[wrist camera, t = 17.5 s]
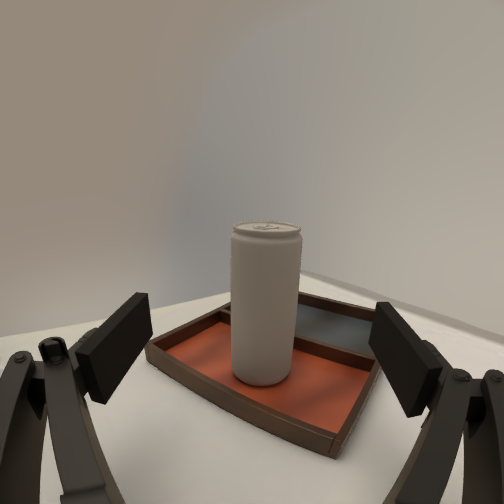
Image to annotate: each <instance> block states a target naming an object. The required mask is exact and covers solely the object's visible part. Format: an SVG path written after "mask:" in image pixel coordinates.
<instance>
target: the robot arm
mask: <svg viewBox="0 0 504 504" xmlns="http://www.w3.org/2000/svg"><path fill="white" fill-rule="evenodd" d="M152 335H153V331H152V324H151V316H150V308H149V300H148V293H137V292H136V293H135V294H134V295H133V296H132V297H131V298H129V299H128V300H127V301H126V302H125V303H124V304H123V305H122V306H121V307H120V308H119V309H118V310H117V311H116V312H115V313H114V314H113V315H111V316H110V317H109V318H108V319H107V320H106V321H105V322H104V323H103V324H102V325H101V326H100V327H99V328H94V329H92V330H90V331H88V332H87V333H85V334H84V335H83V336H82V338H80V339H79V340H78V342H76V343H75V344H74V345H73V346H72V347H71V348H70V349H69V350H67V347H66V344H65V341H64V339H62V338H61V337H50V338H46V339H44V340H43V341H41V342H40V343H39V346H38V348H39V351H40V354H41V356H42V359H43V362H42V361H34V360H33V357H32V355H31V353H30V352H28V351H19V352H16V353H15V354H13V355H12V356H11V357H10V358H9V361H8V363H7V365H6V367H5V369H4V371H3V373H2V375H1V378H0V504H40V474H41V461H42V451H43V443H44V435H45V428H46V422H47V416H48V420H49V427H50V434H51V440H52V445H53V450H54V455H55V460H56V464H57V468H58V473H59V476H60V480H61V484H62V487H63V492H64V494H63V495H60V502H61V504H126V503H125V501H124V499H123V497H122V495H121V493H120V491H119V489H118V487H117V485H116V483H115V481H114V478H113V476H112V474H111V471H110V469H109V467H108V464H107V462H106V459H105V457H104V454H103V452H102V449H101V446H100V444H99V441H98V438H97V435H96V432H95V429H94V426H93V423H92V420H91V417H90V413H89V410H88V406H87V403H86V400H85V398H84V396H85V395H86V393H87V392H88V393H89V395H90V398H91V400H92V401H94V402H97V403H101V404H104V405H106V403H107V402H108V400H109V399H110V397H111V396H112V394H113V393H114V391H115V390H116V388H117V387H118V385H119V384H120V382H121V381H122V379H123V378H124V376H125V375H126V373H127V372H128V370H129V369H130V367H131V366H132V364H133V363H134V361H135V360H136V358H137V357H138V355H139V354H140V353H141V351H142V350H143V348H144V347H145V345H146V344H147V342H148V341H149V340H150V338H151V337H152ZM368 344H369V346H370V347H371V349H372V351H373V353H374V355H375V357H376V358H377V360H378V362H379V364H380V366H381V368H382V370H383V371H384V373H385V375H386V377H387V379H388V381H389V383H390V385H391V387H392V389H393V390H394V392H395V394H396V396H397V398H398V400H399V402H400V404H401V406H402V408H403V410H404V412H405V414H406V416H407V418H410V417H415V416H419V415H422V413H423V411H424V409H425V407H426V405H427V407H428V409H429V410H430V411H429V413H428V415H427V417H426V419H425V421H424V422H423V424H422V426H421V428H422V429H421V432H420V434H419V436H418V438H417V441H416V443H415V445H414V447H413V449H412V451H411V453H410V455H409V457H408V459H407V461H406V463H405V465H404V467H403V469H402V471H401V473H400V475H399V477H398V478H397V480H396V482H395V484H394V485H393V487H392V489H391V490H390V492H389V494H388V495H387V497H386V499H385V500H384V502H383V503H382V504H439V503H440V500H441V498H442V495H443V493H444V490H445V488H446V485H447V482H448V480H449V477H450V474H451V471H452V468H453V465H454V462H455V459H456V455H457V452H458V448H459V445H460V441H461V437H462V433H463V436H464V479H463V495H462V504H504V374H503V373H502V372H501V371H499V370H494V369H493V370H488V371H487V372H486V373H485V375H484V377H483V379H472V376H471V375H470V374H469V373H468V372H467V371H465V370H462V369H457V368H456V369H453V368H452V366H451V365H450V364H449V363H448V362H447V360H446V359H445V358H444V357H443V356H442V354H441V353H440V352H439V351H438V350H437V349H436V347H435V346H434V345H433V344H431V343H430V342H428V341H426V340H421V339H420V338H419V336H418V335H417V334H416V333H415V332H414V330H413V329H412V328H411V327H410V326H409V325H408V324H407V322H406V321H405V320H404V319H403V318H402V317H401V316H400V314H399V313H398V312H397V311H396V310H395V309H394V308H393V307H392V305H391V304H390V303H389V302H377V303H376V308H375V313H374V318H373V323H372V328H371V332H370V337H369V341H368Z"/></svg>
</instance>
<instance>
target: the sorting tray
mask: <svg viewBox="0 0 504 504" xmlns="http://www.w3.org/2000/svg"><path fill="white" fill-rule="evenodd" d="M374 313H375V309H371V308H366V307H362V306H358V305H353V304H349V303H345V302H341V301H336V300H332V299H328V298H324V297H320V296H316V295H312V294H307V293H303V292H299V291H298V303H297V313H296V324H295V333H294V343H293V352H292V360H291V369H290V372H289V374H288V375H287V376H286V377H285V378H284V379H283V380H282V381H280V382H278V383H276V384H273V385H270V386H253V385H249V384H247V383H244V382H243V381H241V380H240V379H239V378H237V377H236V376H235V374H234V373H233V371H232V367H231V302H229V303H227V304H225V305H223V306H221V307H219V308H217V309H215V310H213V311H211V312H209V313H206V314H204V315H202V316H200V317H198V318H196V319H194V320H192V321H190V322H188V323H186V324H184V325H182V326H179V327H177V328H175V329H173V330H171V331H169V332H167V333H165V334H162V335H160V336H158V337H156V338H154V339H152V340H150V341H148V342H147V344H146V345H145V347H144V349H145V354H146V360H147V361H148V362H150V363H151V364H153V365H154V366H155V367H157V368H158V369H160V370H161V371H163V372H164V373H166V374H167V375H169V376H170V377H172V378H173V379H175V380H176V381H178V382H179V383H181V384H182V385H184V386H186V387H187V388H189V389H190V390H192V391H194V392H195V393H197V394H199V395H200V396H202V397H204V398H205V399H207V400H209V401H210V402H212V403H214V404H216V405H217V406H219V407H221V408H223V409H224V410H226V411H228V412H230V413H232V414H234V415H236V416H237V417H239V418H241V419H243V420H245V421H247V422H249V423H251V424H253V425H255V426H257V427H259V428H261V429H263V430H265V431H268V432H270V433H272V434H274V435H276V436H278V437H281V438H283V439H285V440H287V441H290V442H292V443H294V444H297V445H299V446H302V447H304V448H307V449H309V450H312V451H314V452H317V453H319V454H322V455H325V456H328V457H330V458H333V459H336V458H337V457H338V455H339V453H340V452H341V450H342V448H343V446H344V445H345V443H346V441H347V439H348V437H349V436H350V434H351V432H352V430H353V428H354V426H355V424H356V422H357V420H358V418H359V416H360V414H361V412H362V410H363V408H364V406H365V404H366V402H367V400H368V398H369V395H370V393H371V391H372V389H373V386H374V384H375V382H376V380H377V377H378V375H379V372H380V370H381V366H380V364H379V362H378V360H377V358H376V357H375V355H374V353H373V351H372V349H371V347H370V346H369V344H368V341H369V337H370V332H371V328H372V323H373V318H374Z"/></svg>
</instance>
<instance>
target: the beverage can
mask: <svg viewBox="0 0 504 504" xmlns="http://www.w3.org/2000/svg"><path fill="white" fill-rule="evenodd" d="M233 229H234V232H233V233H232V235H231V367H232V371H233V373H234V374H235V376H236V377H237V378H239V379H240V380H241V381H243V382H244V383H247V384H249V385H253V386H270V385H273V384H276V383H278V382H280V381H282V380H283V379H284V378H285V377H286V376H287V375H288V374H289V372H290V369H291V360H292V352H293V343H294V333H295V324H296V313H297V303H298V291H299V279H300V266H301V252H302V236H301V235H300V234H299V232H300V230H301V227H300V226H298V225H296V224H292V223H287V222H279V221H243V222H238V223H235V224H234V225H233Z"/></svg>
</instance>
